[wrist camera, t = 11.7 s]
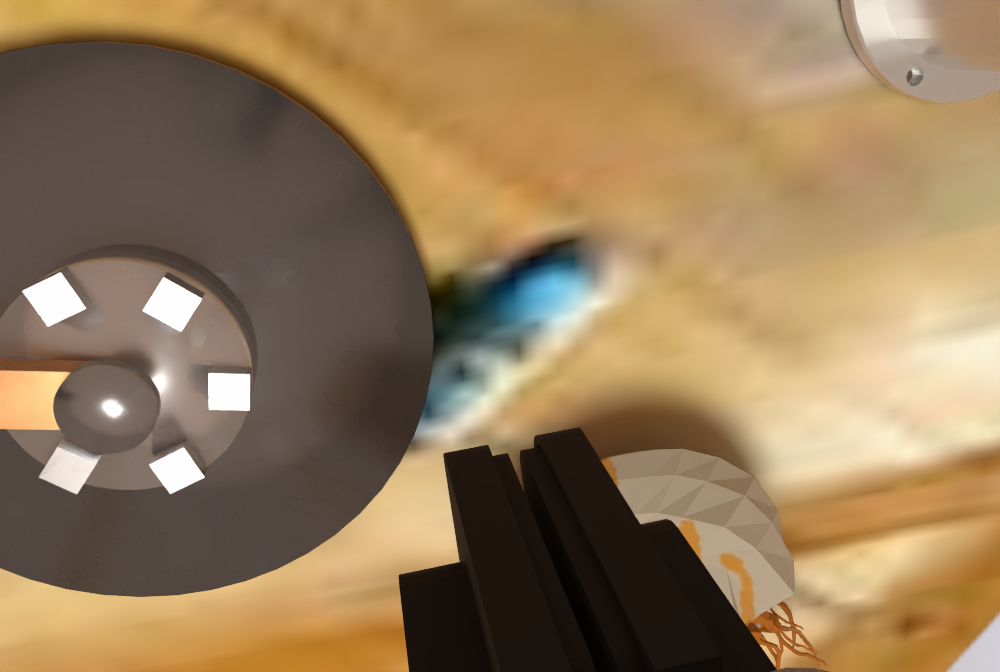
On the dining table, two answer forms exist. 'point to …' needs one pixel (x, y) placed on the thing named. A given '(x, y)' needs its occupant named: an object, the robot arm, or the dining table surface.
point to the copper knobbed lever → (126, 369)
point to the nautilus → (718, 530)
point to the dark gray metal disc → (252, 278)
